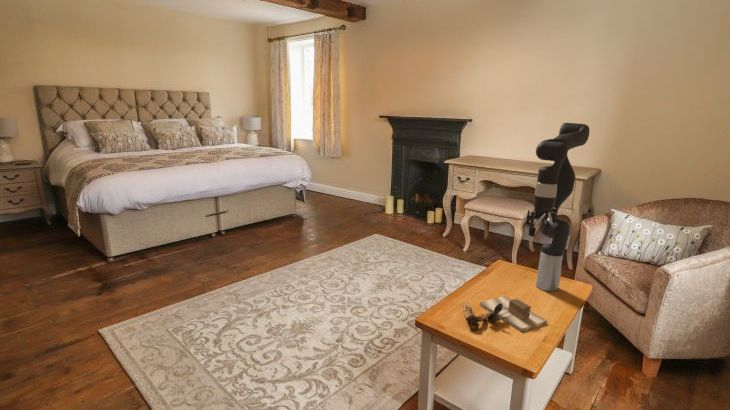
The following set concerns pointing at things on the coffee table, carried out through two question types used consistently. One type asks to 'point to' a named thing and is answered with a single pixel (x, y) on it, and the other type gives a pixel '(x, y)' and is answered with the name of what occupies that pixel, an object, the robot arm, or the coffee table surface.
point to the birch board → (510, 318)
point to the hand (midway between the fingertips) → (539, 234)
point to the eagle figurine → (495, 314)
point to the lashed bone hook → (472, 316)
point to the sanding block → (519, 309)
